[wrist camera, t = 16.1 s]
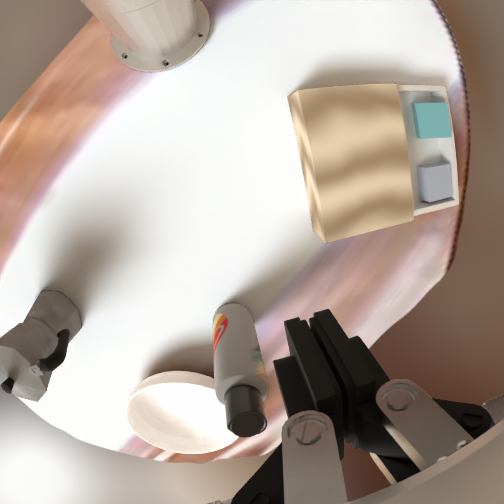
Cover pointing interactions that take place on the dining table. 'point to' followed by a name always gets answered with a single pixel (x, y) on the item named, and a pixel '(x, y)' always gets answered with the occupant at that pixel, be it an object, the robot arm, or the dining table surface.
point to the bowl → (179, 413)
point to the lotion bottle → (239, 370)
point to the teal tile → (431, 120)
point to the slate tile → (434, 181)
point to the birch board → (353, 158)
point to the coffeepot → (37, 345)
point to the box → (427, 144)
